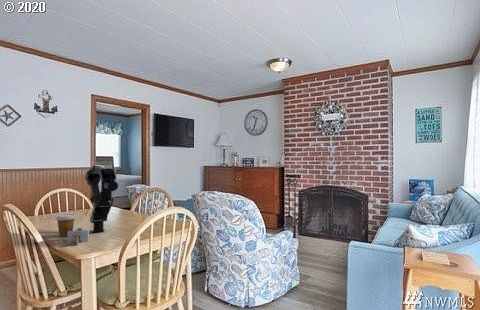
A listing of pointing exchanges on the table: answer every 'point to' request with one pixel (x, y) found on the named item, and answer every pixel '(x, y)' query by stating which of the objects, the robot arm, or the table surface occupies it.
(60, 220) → the disposable coffee cup
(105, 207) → the robot arm
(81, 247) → the table surface
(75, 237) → the notched wooden post
